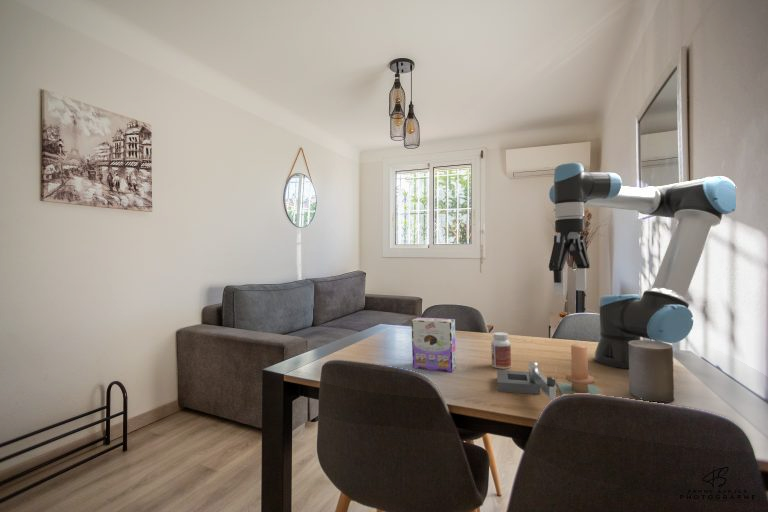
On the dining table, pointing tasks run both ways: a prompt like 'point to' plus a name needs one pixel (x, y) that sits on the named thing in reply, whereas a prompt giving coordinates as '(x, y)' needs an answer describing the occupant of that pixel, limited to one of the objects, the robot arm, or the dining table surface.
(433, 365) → the candy box
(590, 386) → the mat
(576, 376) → the plug
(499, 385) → the socket
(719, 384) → the dining table surface
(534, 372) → the clip
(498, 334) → the pill bottle
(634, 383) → the pillar candle
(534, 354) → the dining table surface
